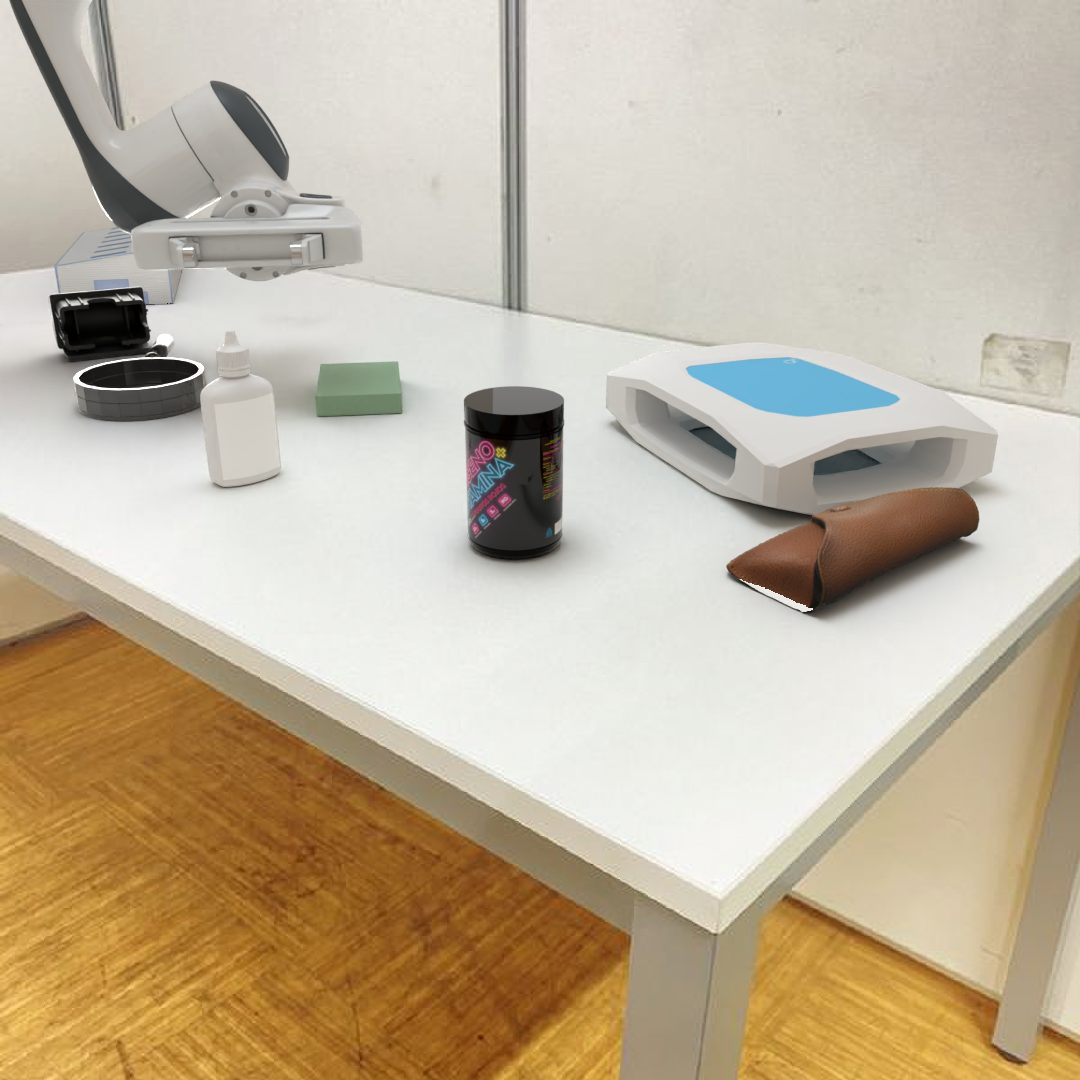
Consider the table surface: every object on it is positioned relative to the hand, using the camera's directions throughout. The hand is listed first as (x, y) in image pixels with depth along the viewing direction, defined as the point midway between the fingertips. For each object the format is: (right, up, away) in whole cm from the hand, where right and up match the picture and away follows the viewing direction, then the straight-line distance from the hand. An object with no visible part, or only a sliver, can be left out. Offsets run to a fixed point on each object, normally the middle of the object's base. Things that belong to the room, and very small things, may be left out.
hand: (242, 256), depth 96 cm
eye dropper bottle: (+2, -19, -5) cm, 20 cm away
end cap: (-25, -3, +34) cm, 42 cm away
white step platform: (+46, -17, +1) cm, 49 cm away
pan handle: (-15, -5, +24) cm, 29 cm away
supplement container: (+24, -25, -17) cm, 38 cm away
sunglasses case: (+47, -26, -19) cm, 57 cm away
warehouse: (-35, +13, +69) cm, 79 cm away
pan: (-14, -11, +15) cm, 22 cm away
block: (+7, -10, +16) cm, 20 cm away
